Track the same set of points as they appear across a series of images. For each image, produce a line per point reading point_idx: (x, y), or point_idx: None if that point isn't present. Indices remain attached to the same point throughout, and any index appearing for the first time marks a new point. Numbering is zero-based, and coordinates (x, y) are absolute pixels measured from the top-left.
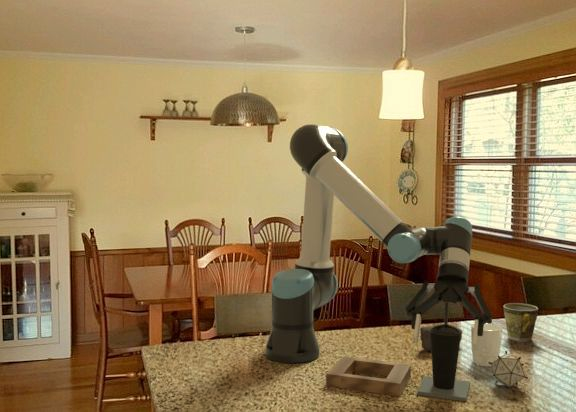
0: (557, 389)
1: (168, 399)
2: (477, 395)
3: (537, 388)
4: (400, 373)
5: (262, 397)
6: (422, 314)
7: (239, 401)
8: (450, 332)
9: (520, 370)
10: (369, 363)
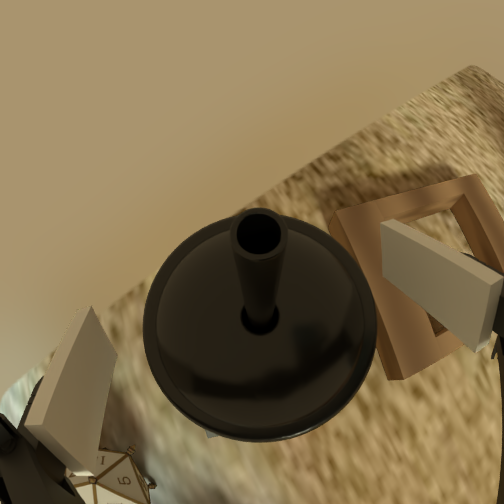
0: None
1: (489, 77)
2: None
3: None
4: (384, 284)
5: (462, 109)
6: (500, 374)
7: (460, 91)
8: (192, 251)
9: None
10: None
